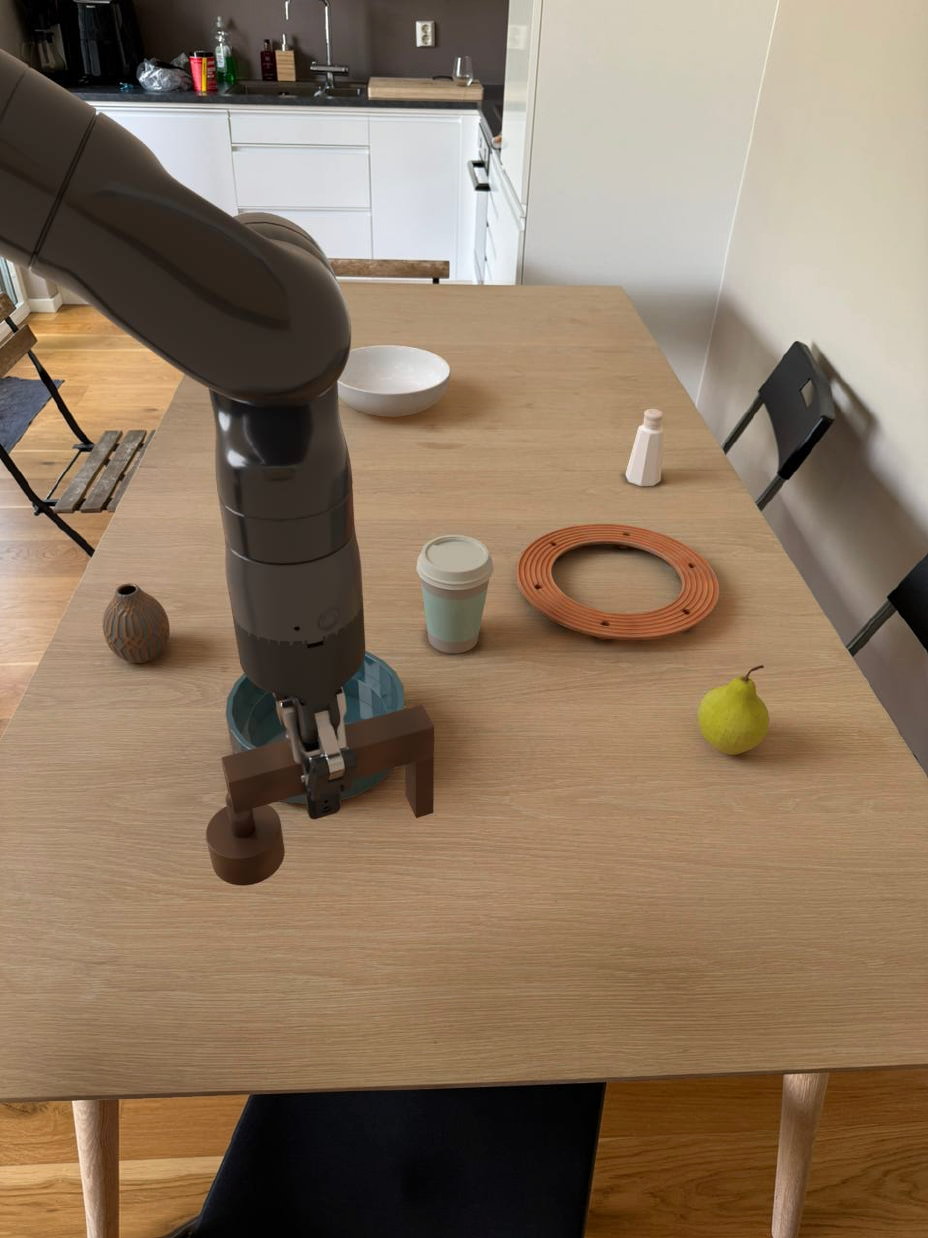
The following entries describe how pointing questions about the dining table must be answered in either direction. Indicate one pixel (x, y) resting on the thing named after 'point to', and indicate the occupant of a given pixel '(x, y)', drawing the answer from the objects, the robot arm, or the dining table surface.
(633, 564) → the dining table surface
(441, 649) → the coffee cup
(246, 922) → the dining table surface
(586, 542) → the ring
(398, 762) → the brown wooden bracket
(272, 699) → the mixing bowl
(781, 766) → the dining table surface
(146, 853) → the dining table surface
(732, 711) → the fruit
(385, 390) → the serving bowl
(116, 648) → the vase
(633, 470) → the pepper shaker
